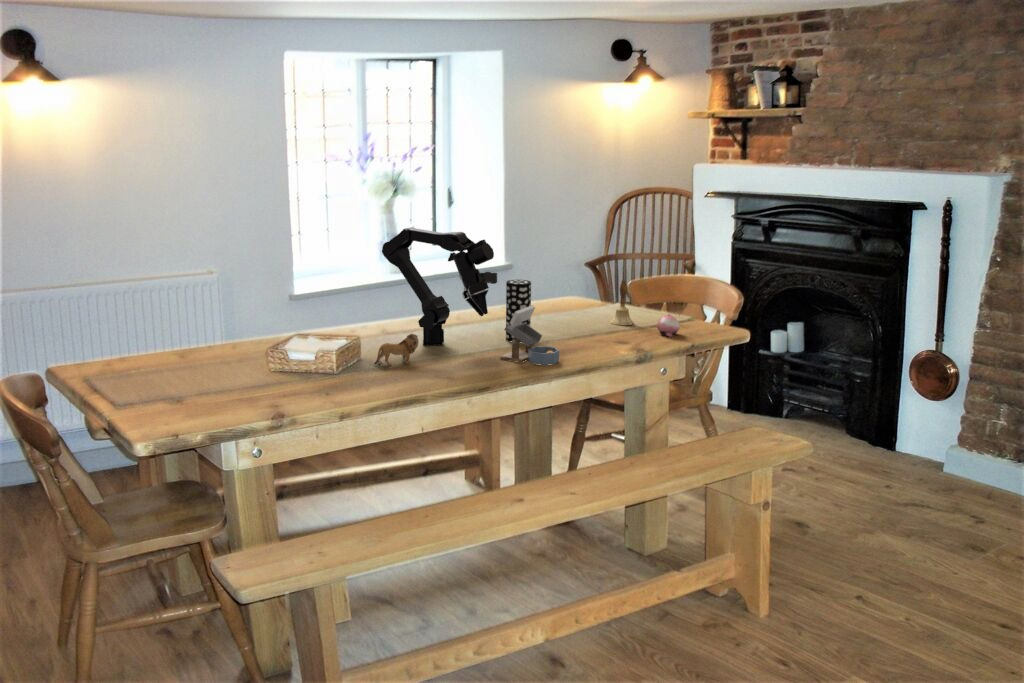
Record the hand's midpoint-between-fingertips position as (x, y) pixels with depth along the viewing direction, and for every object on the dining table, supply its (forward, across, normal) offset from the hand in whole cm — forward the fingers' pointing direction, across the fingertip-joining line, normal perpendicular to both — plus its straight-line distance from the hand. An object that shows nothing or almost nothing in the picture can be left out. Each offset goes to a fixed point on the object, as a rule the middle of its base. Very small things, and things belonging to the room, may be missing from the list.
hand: (484, 315), depth 349 cm
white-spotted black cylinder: (+12, +18, -10) cm, 24 cm away
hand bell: (+20, +36, -52) cm, 66 cm away
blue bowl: (+20, -10, -11) cm, 25 cm away
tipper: (+11, -7, -8) cm, 15 cm away
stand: (+17, -4, -5) cm, 18 cm away
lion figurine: (+5, -6, +32) cm, 33 cm away
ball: (+20, -12, -13) cm, 26 cm away
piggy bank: (+29, +18, -61) cm, 70 cm away
